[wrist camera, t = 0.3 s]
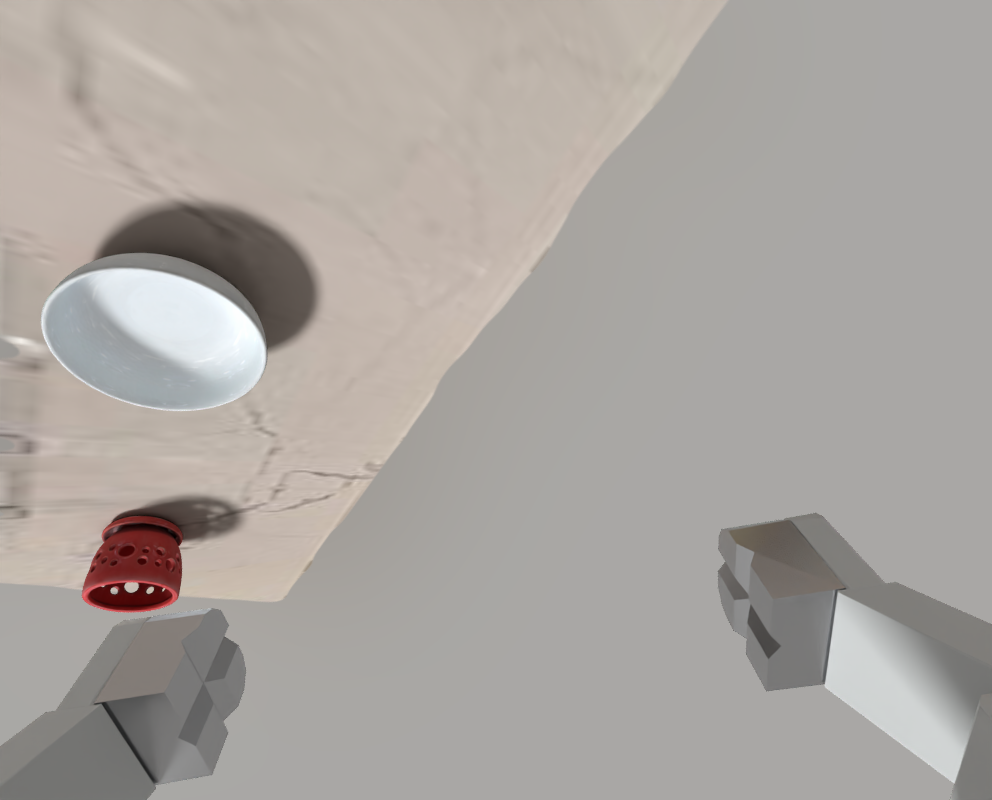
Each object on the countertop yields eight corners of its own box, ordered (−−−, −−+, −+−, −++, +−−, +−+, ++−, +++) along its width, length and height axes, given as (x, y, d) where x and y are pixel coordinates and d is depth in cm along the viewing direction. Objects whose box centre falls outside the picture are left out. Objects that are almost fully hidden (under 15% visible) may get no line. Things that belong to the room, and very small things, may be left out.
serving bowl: (38, 209, 56) (12, 252, 52) (274, 243, 63) (269, 284, 58) (82, 362, 71) (64, 406, 66) (269, 377, 77) (265, 418, 73)
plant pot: (85, 534, 97) (63, 605, 90) (128, 500, 92) (108, 572, 85) (163, 555, 106) (149, 621, 98) (206, 524, 101) (195, 592, 93)
